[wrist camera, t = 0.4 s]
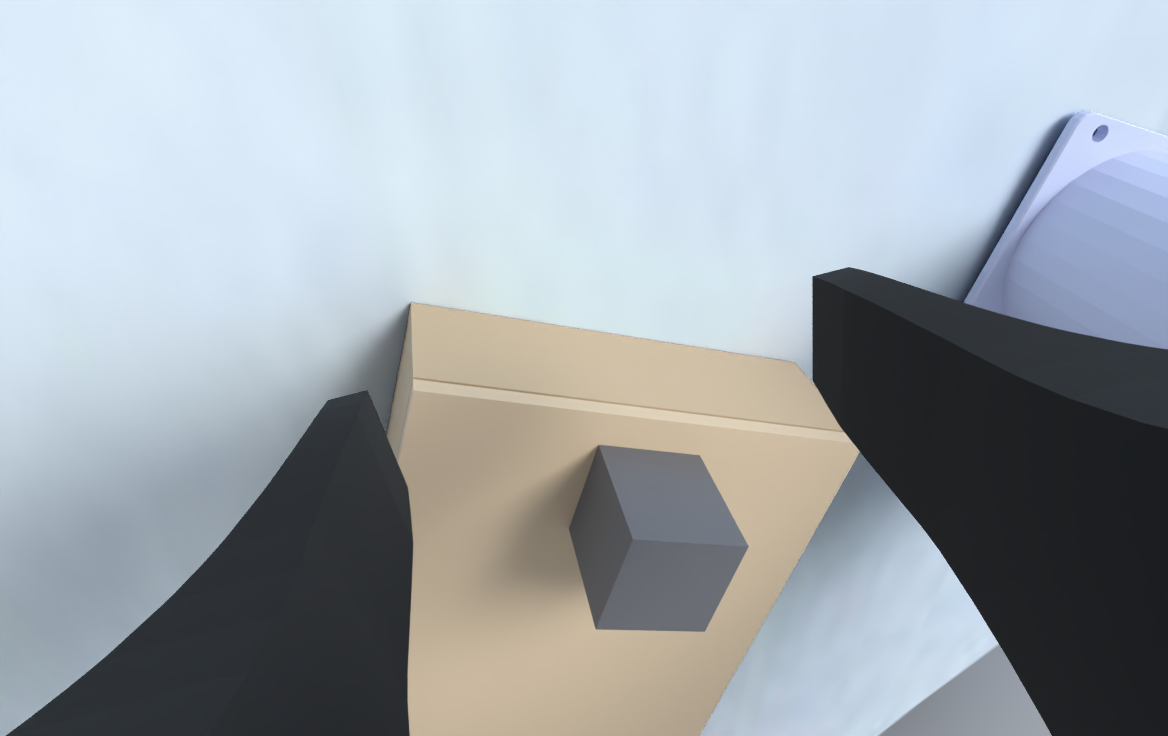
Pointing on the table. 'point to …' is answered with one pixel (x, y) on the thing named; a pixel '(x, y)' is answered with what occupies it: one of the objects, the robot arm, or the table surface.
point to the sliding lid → (595, 557)
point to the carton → (598, 370)
